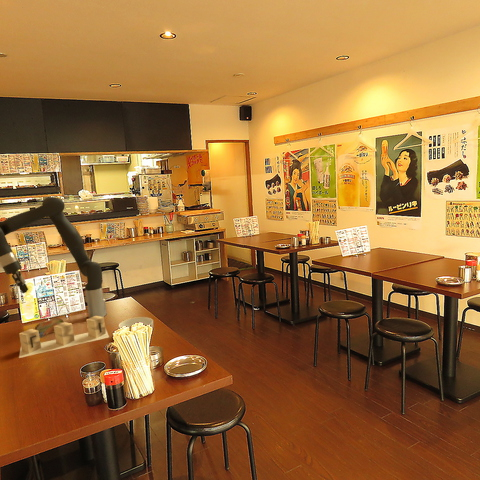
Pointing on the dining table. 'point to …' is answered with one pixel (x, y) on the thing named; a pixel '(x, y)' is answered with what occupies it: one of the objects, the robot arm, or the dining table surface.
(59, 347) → the board
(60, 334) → the plain block
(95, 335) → the marked block 1
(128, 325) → the cereal bowl
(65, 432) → the dining table surface
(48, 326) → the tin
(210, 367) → the dining table surface
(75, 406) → the dining table surface
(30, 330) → the marked block 7
